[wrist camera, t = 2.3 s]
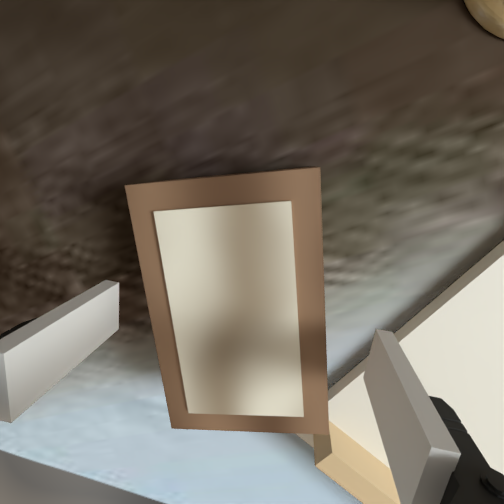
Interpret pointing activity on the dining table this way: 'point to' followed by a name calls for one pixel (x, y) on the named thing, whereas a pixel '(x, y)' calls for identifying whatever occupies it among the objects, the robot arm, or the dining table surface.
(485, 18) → the hand bell
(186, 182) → the frame
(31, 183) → the dining table surface
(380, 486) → the wall panel
